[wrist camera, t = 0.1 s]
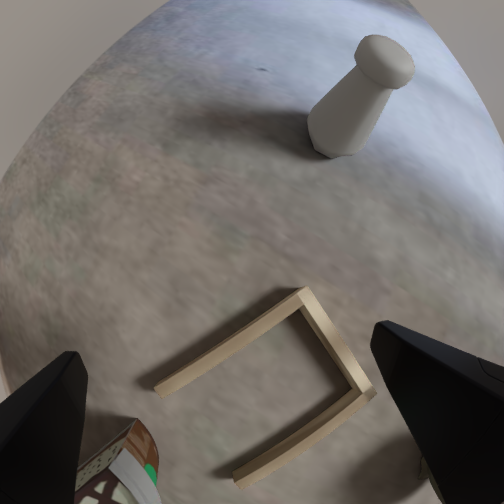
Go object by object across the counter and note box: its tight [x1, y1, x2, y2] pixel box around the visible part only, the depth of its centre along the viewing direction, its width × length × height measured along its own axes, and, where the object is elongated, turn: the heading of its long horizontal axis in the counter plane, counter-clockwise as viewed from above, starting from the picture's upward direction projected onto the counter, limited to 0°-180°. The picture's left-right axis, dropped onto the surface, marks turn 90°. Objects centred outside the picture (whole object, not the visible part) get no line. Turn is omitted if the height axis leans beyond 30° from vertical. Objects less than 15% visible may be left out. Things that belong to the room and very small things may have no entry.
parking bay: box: [154, 286, 377, 490], centre depth 21 cm, size 11×14×2 cm
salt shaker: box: [307, 35, 415, 159], centre depth 21 cm, size 6×6×13 cm
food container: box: [74, 418, 162, 504], centre depth 14 cm, size 12×6×10 cm, turn 134°
